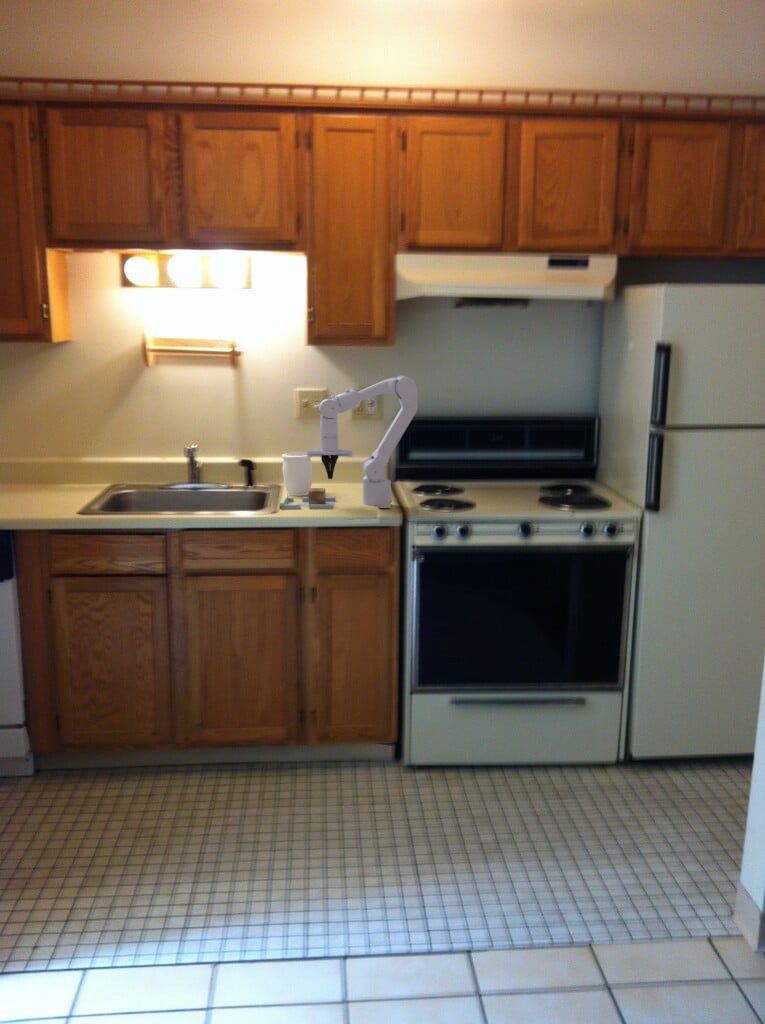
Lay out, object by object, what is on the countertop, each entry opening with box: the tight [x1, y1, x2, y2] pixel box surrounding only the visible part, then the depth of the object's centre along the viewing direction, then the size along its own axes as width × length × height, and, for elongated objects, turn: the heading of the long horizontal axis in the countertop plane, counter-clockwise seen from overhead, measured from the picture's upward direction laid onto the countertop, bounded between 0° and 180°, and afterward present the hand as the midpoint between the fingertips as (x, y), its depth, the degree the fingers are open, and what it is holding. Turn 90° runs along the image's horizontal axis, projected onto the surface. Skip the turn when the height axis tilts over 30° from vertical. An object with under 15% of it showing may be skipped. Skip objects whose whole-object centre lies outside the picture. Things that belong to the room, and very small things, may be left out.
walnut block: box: [308, 487, 327, 505], centre depth 277 cm, size 5×5×5 cm
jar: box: [281, 451, 313, 497], centre depth 295 cm, size 11×10×15 cm
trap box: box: [279, 494, 336, 510], centre depth 277 cm, size 17×12×3 cm
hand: (330, 478), depth 275 cm, fingers closed
